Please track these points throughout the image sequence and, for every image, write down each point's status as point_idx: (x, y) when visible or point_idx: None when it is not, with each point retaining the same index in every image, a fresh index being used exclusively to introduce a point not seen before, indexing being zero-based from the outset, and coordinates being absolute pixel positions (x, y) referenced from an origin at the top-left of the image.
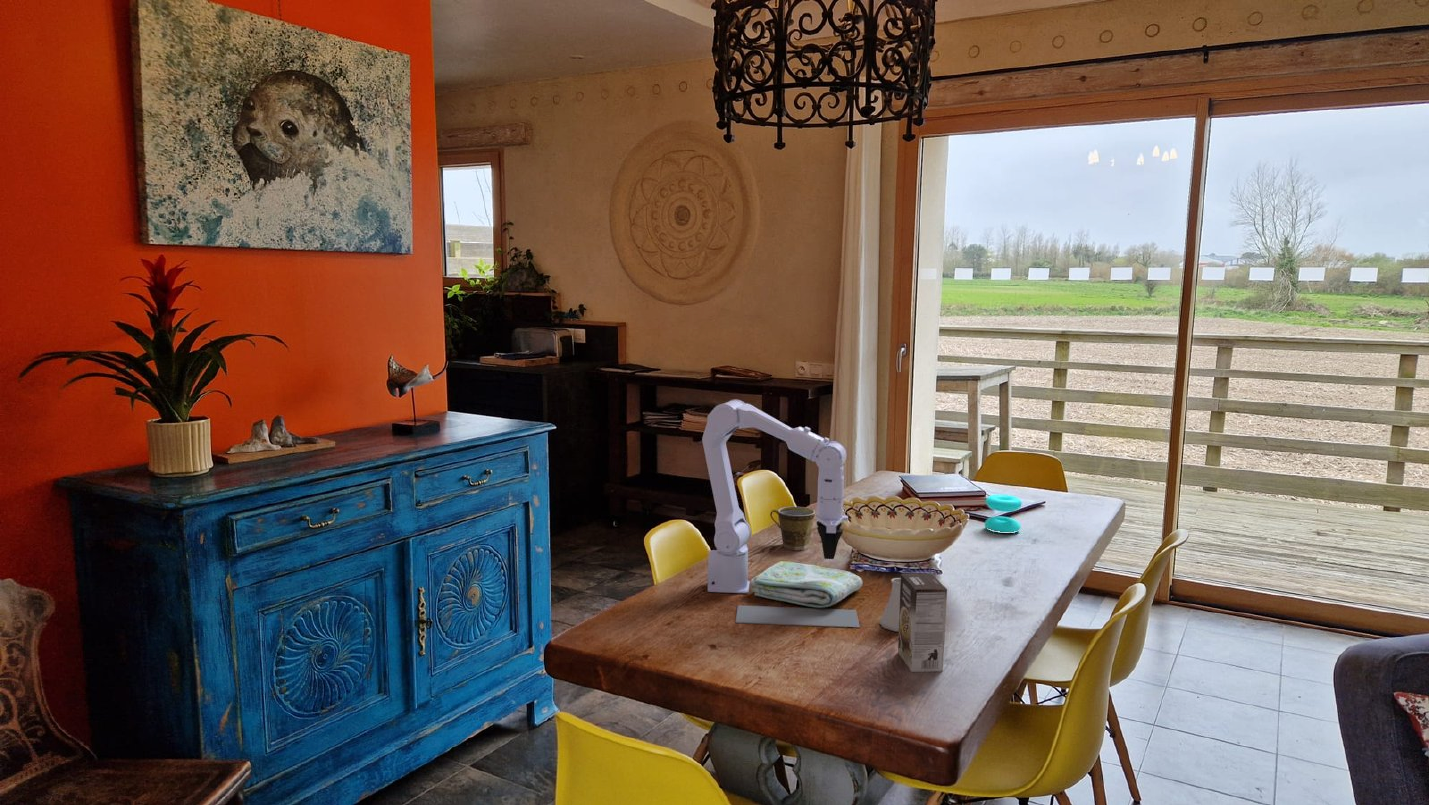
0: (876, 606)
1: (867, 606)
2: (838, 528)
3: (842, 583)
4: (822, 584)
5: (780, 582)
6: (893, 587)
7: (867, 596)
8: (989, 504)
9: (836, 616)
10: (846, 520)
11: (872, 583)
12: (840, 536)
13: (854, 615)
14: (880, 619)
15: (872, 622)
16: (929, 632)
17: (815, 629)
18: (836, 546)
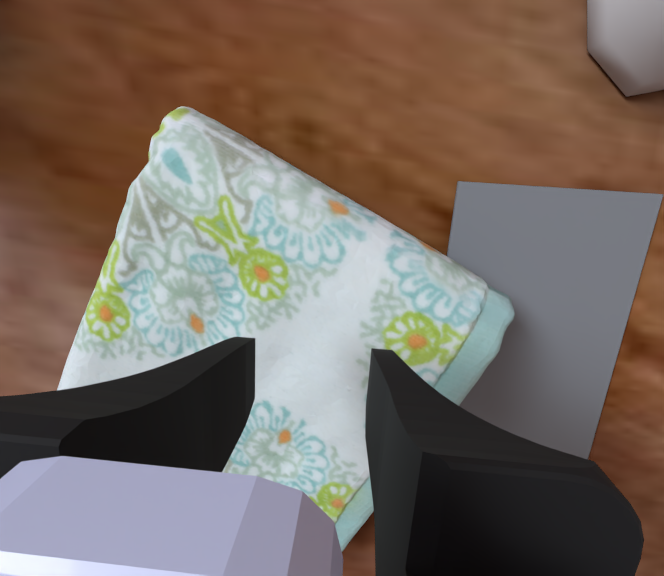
0: (401, 74)
1: (401, 119)
2: (130, 425)
3: (355, 240)
4: (431, 356)
5: (359, 510)
6: None
7: (271, 99)
8: None
9: (529, 274)
10: (327, 529)
11: (88, 45)
12: (544, 448)
13: (524, 198)
14: (640, 86)
15: (600, 126)
16: None
17: (642, 365)
18: (438, 393)
